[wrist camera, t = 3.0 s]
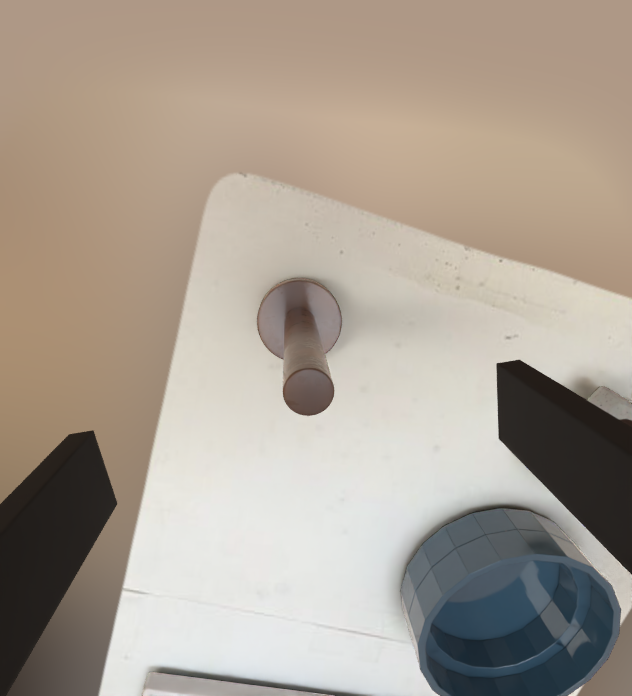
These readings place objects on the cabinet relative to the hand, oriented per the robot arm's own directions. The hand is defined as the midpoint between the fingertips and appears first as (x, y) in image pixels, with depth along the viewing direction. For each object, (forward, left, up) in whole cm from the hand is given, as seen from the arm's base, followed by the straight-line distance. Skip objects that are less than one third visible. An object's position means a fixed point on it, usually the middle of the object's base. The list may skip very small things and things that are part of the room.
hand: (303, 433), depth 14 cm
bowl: (-13, +27, -19) cm, 36 cm away
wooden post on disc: (0, 0, -19) cm, 19 cm away
